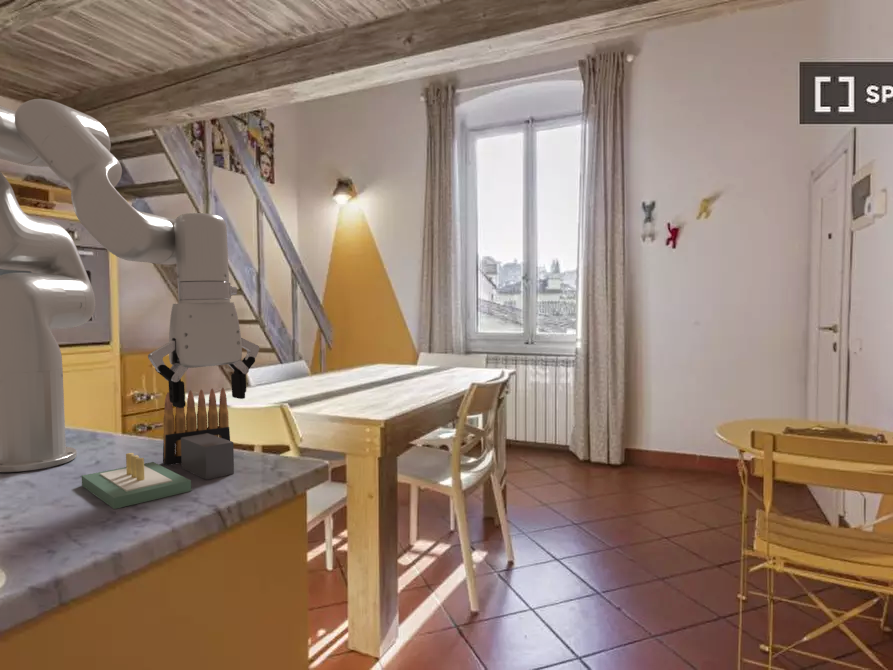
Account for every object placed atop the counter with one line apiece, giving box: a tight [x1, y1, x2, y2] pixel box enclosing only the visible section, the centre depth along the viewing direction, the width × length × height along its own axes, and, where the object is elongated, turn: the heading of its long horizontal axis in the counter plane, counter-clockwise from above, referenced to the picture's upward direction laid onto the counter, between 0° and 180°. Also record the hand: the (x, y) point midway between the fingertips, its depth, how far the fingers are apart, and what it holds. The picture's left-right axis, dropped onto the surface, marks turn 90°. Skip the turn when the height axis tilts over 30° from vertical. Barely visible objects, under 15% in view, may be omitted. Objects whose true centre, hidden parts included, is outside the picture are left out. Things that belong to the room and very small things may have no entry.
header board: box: [81, 452, 192, 510], centre depth 84 cm, size 14×10×5 cm
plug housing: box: [180, 433, 235, 481], centre depth 93 cm, size 9×4×5 cm, turn 47°
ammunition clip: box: [162, 387, 231, 466], centre depth 99 cm, size 11×2×12 cm, turn 127°
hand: (209, 402), depth 92 cm, fingers open, 9 cm apart
